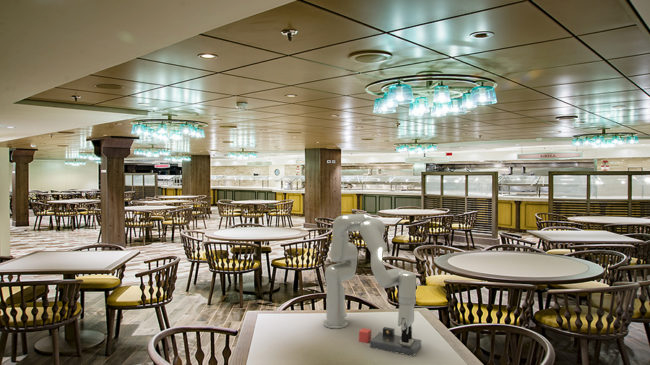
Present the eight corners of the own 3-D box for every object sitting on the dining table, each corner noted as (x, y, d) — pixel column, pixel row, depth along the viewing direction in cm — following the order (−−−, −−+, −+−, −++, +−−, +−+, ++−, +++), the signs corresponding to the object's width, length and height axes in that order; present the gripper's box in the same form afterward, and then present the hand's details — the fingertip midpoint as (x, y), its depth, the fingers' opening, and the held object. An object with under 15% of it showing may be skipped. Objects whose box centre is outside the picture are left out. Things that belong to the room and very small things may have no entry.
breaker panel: (379, 338, 203) (379, 325, 203) (421, 346, 194) (421, 333, 194) (370, 347, 193) (370, 334, 193) (413, 356, 183) (413, 342, 183)
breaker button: (402, 344, 194) (402, 337, 194) (413, 346, 192) (413, 339, 192) (399, 348, 190) (399, 341, 190) (410, 350, 188) (410, 343, 188)
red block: (362, 338, 203) (362, 328, 203) (371, 340, 201) (371, 329, 201) (359, 341, 199) (359, 331, 199) (367, 343, 197) (367, 332, 197)
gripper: (404, 294, 200) (404, 332, 200) (393, 303, 185) (392, 345, 185) (420, 296, 196) (419, 335, 197) (409, 306, 182) (409, 348, 182)
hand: (406, 339), depth 191 cm, fingers open, 3 cm apart
